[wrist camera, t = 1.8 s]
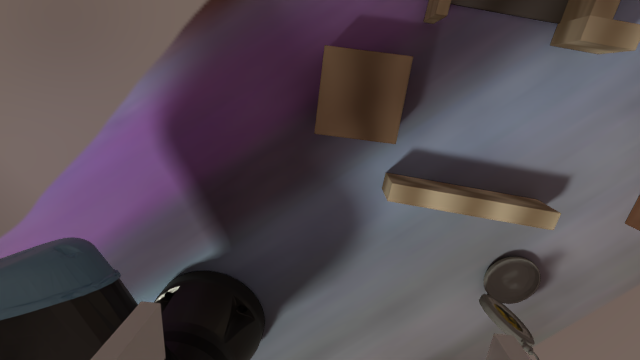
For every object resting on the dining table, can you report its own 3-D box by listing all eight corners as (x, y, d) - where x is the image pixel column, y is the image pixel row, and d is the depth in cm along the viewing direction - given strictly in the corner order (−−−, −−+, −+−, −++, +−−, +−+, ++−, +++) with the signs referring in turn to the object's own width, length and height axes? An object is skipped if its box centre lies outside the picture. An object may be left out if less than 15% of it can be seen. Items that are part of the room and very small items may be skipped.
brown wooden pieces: (373, 187, 36) (378, 199, 33) (439, -88, 28) (456, -115, 24) (637, 233, 37) (672, 251, 33) (779, -25, 28) (848, -41, 25)
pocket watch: (541, 255, 38) (610, 313, 29) (525, 311, 41) (584, 381, 31) (474, 252, 38) (520, 308, 29) (463, 307, 41) (501, 376, 31)
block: (317, 126, 35) (314, 133, 30) (326, 50, 32) (324, 45, 28) (387, 135, 35) (395, 144, 30) (401, 60, 32) (413, 56, 28)
